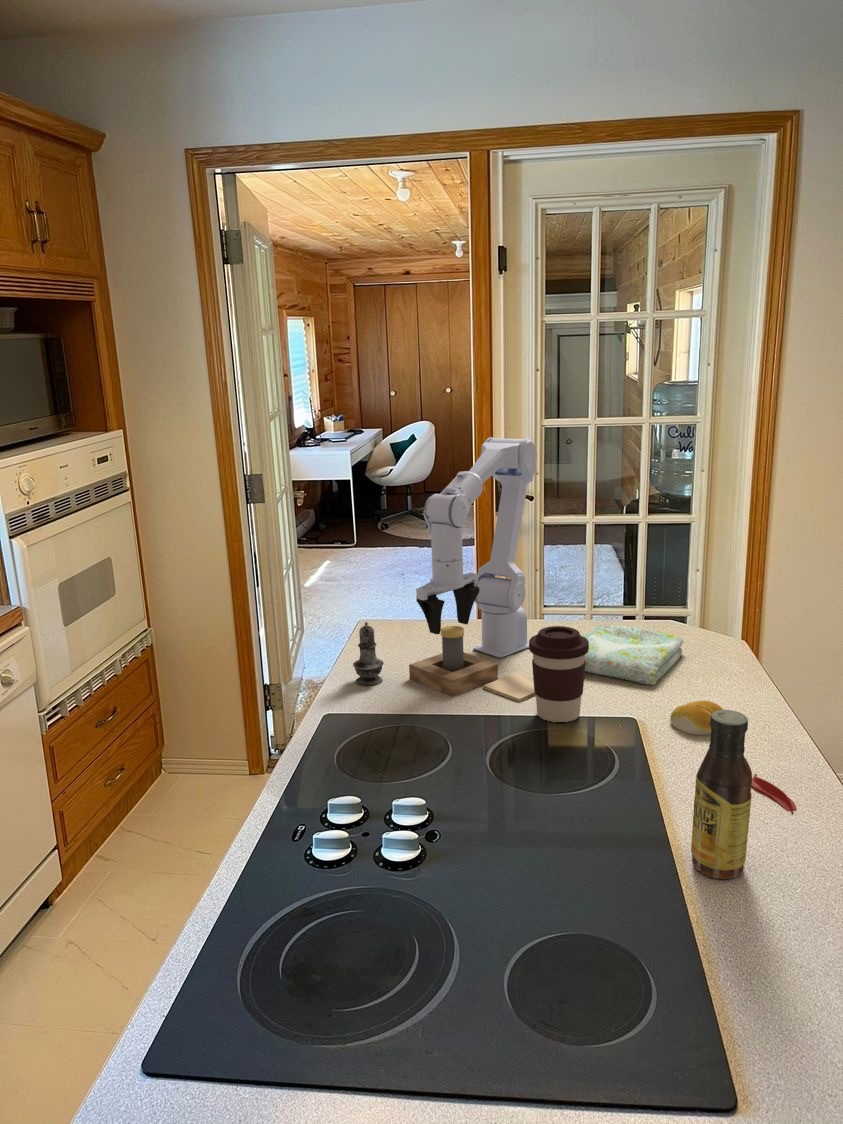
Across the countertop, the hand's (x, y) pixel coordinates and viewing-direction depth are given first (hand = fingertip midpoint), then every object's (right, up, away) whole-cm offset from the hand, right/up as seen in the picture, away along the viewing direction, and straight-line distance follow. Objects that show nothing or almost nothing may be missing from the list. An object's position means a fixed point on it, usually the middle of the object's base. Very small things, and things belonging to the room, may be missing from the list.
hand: (449, 628), depth 162 cm
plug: (+1, -10, +3) cm, 10 cm away
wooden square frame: (+1, -10, +3) cm, 10 cm away
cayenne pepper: (+43, -20, -43) cm, 64 cm away
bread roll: (+41, -15, -21) cm, 48 cm away
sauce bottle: (+30, -24, -59) cm, 71 cm away
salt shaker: (-15, -11, +3) cm, 19 cm away
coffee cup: (+18, -14, -15) cm, 27 cm away
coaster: (+13, -11, -3) cm, 17 cm away
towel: (+35, -8, +9) cm, 37 cm away
